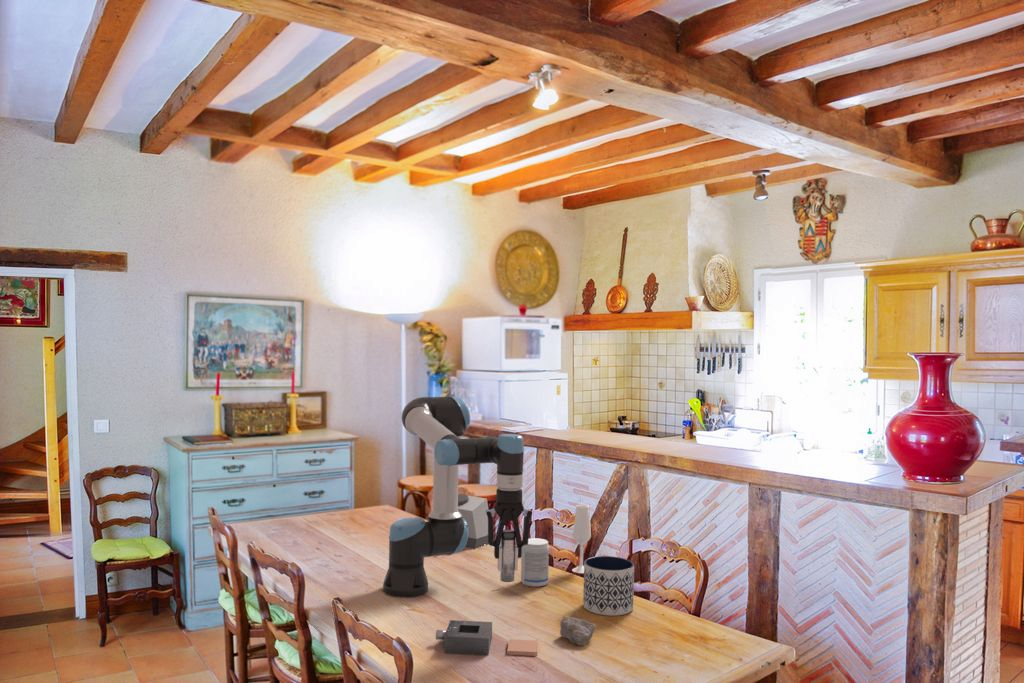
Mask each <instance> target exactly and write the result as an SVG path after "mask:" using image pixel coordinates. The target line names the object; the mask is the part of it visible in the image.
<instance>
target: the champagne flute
mask: <svg viewBox="0 0 1024 683" xmlns="http://www.w3.org/2000/svg"><path fill="white" fill-rule="evenodd" d="M590 515H591V514H590V505H587V504H576V506H575V514H574V523H573V532H572V536H573V539H574V541H576V542H577V544H578V545H579V565H577V566H576V567H574V568H572V570H571V571H572V572H573V573H577V574H584V545H585V544H586V543H587V542H589V541H590V539H591V538H592V533H591V532H592V531H591V518H590V517H591V516H590Z"/></svg>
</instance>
